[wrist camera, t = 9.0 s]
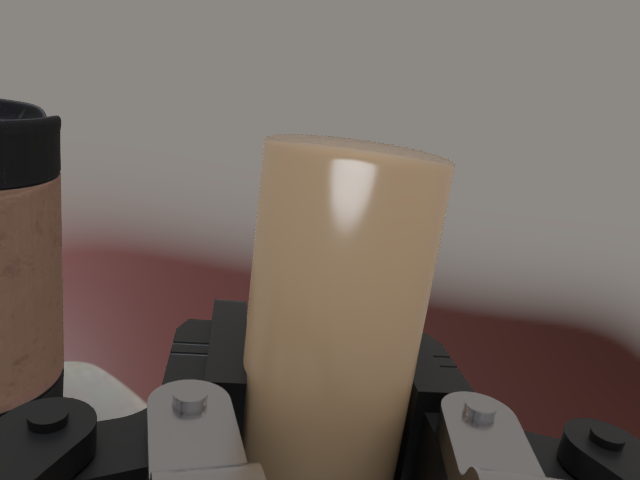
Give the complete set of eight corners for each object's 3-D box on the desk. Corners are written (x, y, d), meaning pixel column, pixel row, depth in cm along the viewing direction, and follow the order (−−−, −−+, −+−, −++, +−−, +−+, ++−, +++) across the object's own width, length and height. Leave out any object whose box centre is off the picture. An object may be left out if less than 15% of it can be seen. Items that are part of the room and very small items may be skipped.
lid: (12, 658, 13) (-11, 100, 9) (302, 501, 18) (356, 120, 15) (220, 1225, 7) (373, 281, 3) (551, 737, 12) (735, 200, 9)
